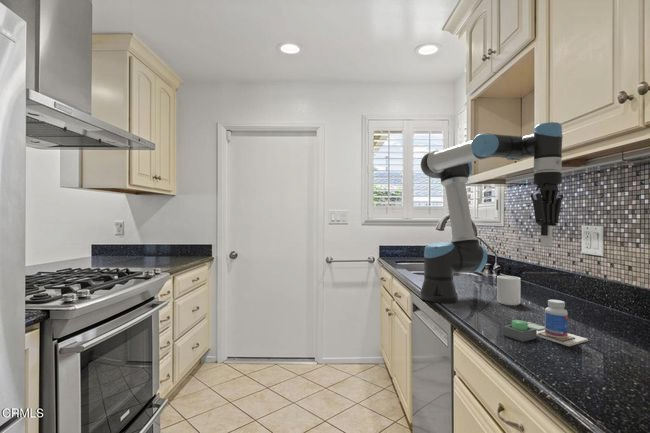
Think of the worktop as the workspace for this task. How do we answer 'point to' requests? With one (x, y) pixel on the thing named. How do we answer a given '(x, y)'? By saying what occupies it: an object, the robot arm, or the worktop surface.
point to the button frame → (519, 333)
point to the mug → (508, 290)
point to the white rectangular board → (567, 341)
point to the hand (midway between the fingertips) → (546, 245)
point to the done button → (519, 325)
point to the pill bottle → (556, 319)
